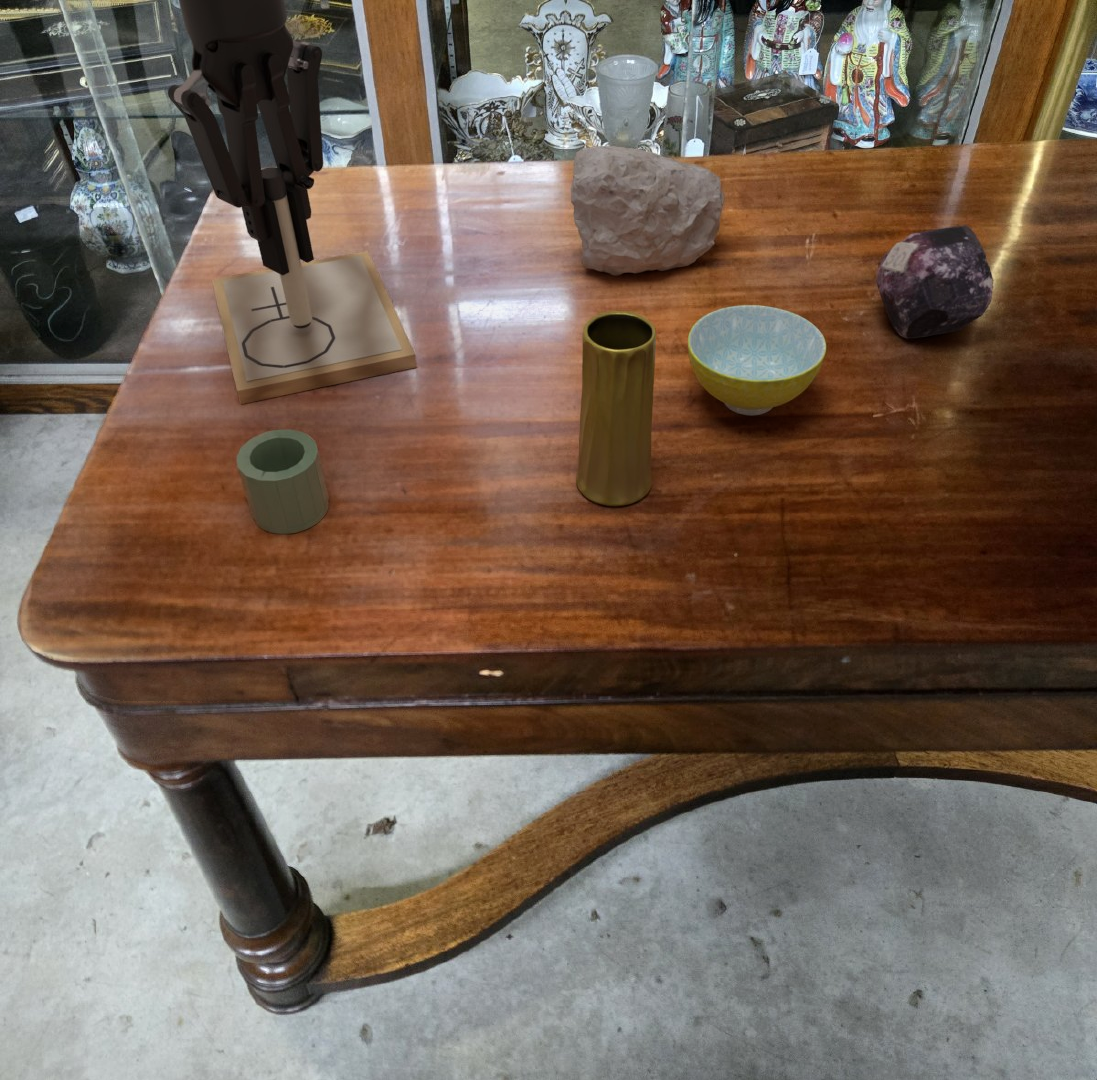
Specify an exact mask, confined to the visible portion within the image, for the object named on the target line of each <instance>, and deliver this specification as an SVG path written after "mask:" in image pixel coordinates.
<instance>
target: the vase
mask: <svg viewBox="0 0 1097 1080" xmlns="http://www.w3.org/2000/svg"><path fill="white" fill-rule="evenodd" d="M581 337H582V343H581V344H582V358H581V359H582V360H581V361H582V362H581V363H582V364H581V399H580V413H579V431H578V433H579V434H578V460H577V461H578V462H577V463H578V466H577V471H576V476H575V484H576V486H577V488H578V490H579V491H580V493H581V494H582V495H583V496H584V497H585V498H587V499H588V500H589V501H591V502H593V503H595V504H598V505H602V506H606V507H607V506H608V507H623V506H624V507H625V506H629V505H632V504H634V503H637V502H639V501H641V499H643V498H645V496H647V495H648V493H649V492H650V490H651V489H652V485H653V476H652V425H653V407H654V406H653V404H654V386H655V384H654V383H655V367H656V366H655V365H656V342H657V341H656V340H657V329H656V327H655V325H654V323H653V322H652V321H651V320H649V319H648V318H646V317H645V316H643V315H641V314H639V313H636V312H633V311H626V310H609V311H605V312H602V313H598V314H596V315H594V316H592V317H591V318H590V319H588V320H587V321H586V323H585V324H584V326H583V329H582V336H581Z"/></svg>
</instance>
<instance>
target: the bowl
mask: <svg viewBox="0 0 1097 1080" xmlns="http://www.w3.org/2000/svg"><path fill="white" fill-rule="evenodd" d="M687 353H688V358H689V364H690V366H691V369H692V371H693V374H694V376H695V377H696V379H697V380H698V382H699V384H700V385H701V386H702V388H703V389H704V390H705V391H707V392H708V394H710V395H711V396H712V397H713V398H715V399H717V400H718V401H720V402H722V403H724V405H725V407H727V409H728V410H730V411H732V412H734V413H736V414H740V415H744V416H759V415H763V414H766V413H768V412H769V411H771V410H772V409H773V408H775V407H779V406H782V405H785V404H787V403H788V402H790V401H792V400H794V399H796V398H797V397H798V396H799V395H801V394H803V392H805V390H806V389H808V387H809V386H810V385H811V384H812V382H813V381H814V380H815V378H816V376H817V375H818V373H819V372H820V370H821V367H822V365H823V362H824V359H825V356H826V353H827V342H826V339H825V337H824V335H823V333H822V332H821V330H820V329H819V328H818V327H817V326H816V325H815V324H813V323H812V322H811V321H809V320H808V319H807V318H804V317H803V316H802V315H799V314H797V313H794V312H792V311H789V310H784V309H781V308H778V307H774V306H767V305H757V304H752V305H751V304H743V305H733V306H728V307H723V308H719V309H716V310H713V311H711V312H709V313H707V314H704V315H703V316H701V317H700V318H699V319H698V320H697V321H696V322H695V323H694V324H693V325H692V327H691V328H690V330H689V333H688V337H687Z"/></svg>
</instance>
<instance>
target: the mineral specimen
mask: <svg viewBox="0 0 1097 1080" xmlns="http://www.w3.org/2000/svg"><path fill="white" fill-rule="evenodd" d="M875 282H876V286H877V289H878V293H879V295H880V298H881V301H882V303H883V306H884V308H885V311H886V314H887V317H888V319H889V321H890V323H891V325H892V327H893V329H894V330H895V332H896V333H897V334H898V335H899V336H900V337H902V338H903V339H918V338H925V337H926V338H927V337H930V336H935V335H941V334H942V335H943V334H947V333H953V332H957V331H960V330H962V329H963V328H965V327H966V326H968V325H970V324H972V323H973V322H974V321H977V320H978V319H979V318H981V317H983V316H984V314H985V313H986V312H987V310H988V308H989V306H990V305H991V303H992V300H993V290H994V282H995V280H994V277H993V274H992V271H991V267H990V265H989V263H988V260H987V255H986V252H985V250H984V248H983V246H982V244H981V243H980V239H979V238H978V237H977V235H976V233H975V232H974V231H973V229H972V228H971V227H969V226H968V225H967V224H965V225H956V226H949V227H943V228H936V229H930V230H925V231H920V232H913V233H911V234H908V236H907V237H906V238H904V239H903V240H902V241H899V242H896V243H895V244H894V245H893V247H892V248H891V249H890V250H889V251H887V252H886V253H884V254H883V256H881V260H880V261H879V264H878V267H877V272H876V279H875Z"/></svg>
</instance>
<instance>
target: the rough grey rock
mask: <svg viewBox="0 0 1097 1080" xmlns="http://www.w3.org/2000/svg"><path fill="white" fill-rule="evenodd" d="M721 183H722V180H721V177H720V176H719V175H717V174H716V173H714V172H713V171H711V170H710V169H709V168H708V167H703V166H701V165H698V164H695V163H690V162H685V161H679V160H677V159H675V158H670V157H666V156H665V155H661V154H659V153H656V152H652V151H648V150H644V149H640V148H635V147H629V148H627V147H624V146H616V145H605V146H604V145H593V146H590V147H589V146H587V147H586V146H585V147H582V148H581V149H580V150H578V151H577V152H575V154H574V161H573V165H572V182H571V186H570V203H571V204H572V206H573V215H572V216H573V221H574V224H575V227H576V228H577V231H578V235H579V237H580V240H581V245H582V251H583V252H582V259H581V264H582V265H583V266H584V267H585V268H586V269H590V270H594V271H597V272H599V273H600V272H603V273H607V274H609V275H611V276H621V275H622V274H626V273H630V274H638V273H644V272H646V271H655V270H657V271H660V272H664V271H669V270H671V269H675V268H676V269H677V268H683V267H687V266H689V265H691V264H693V263H695V262H696V261H697V259H699V257H702V256H703V255H704V254H705V253H707V252H708V251H710V249H712V247H713V246H714V245H715V239H716V237H717V234H718V232H719V231H720V224H721V223H720V220H721V216H722V212H723V206H724V204H725V193H724V191H723V189H722V185H721Z"/></svg>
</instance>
